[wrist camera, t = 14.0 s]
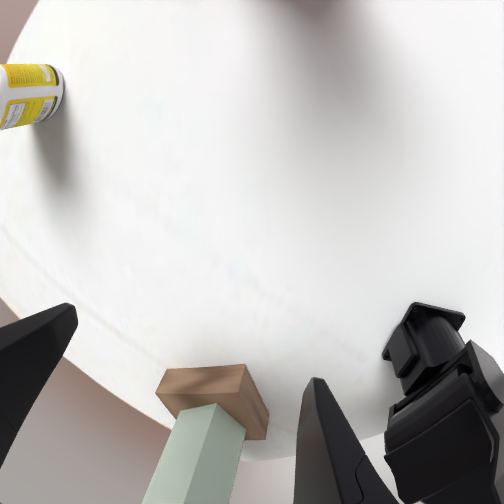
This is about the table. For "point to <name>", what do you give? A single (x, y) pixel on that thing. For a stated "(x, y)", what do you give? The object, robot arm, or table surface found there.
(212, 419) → the tall block
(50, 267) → the table surface
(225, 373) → the walnut block
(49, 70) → the supplement bottle
